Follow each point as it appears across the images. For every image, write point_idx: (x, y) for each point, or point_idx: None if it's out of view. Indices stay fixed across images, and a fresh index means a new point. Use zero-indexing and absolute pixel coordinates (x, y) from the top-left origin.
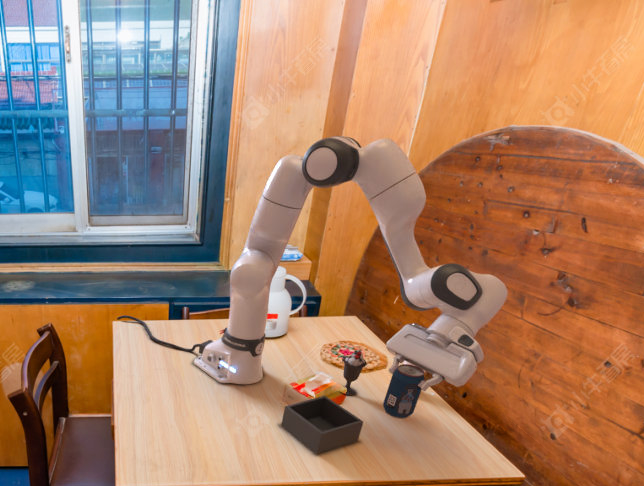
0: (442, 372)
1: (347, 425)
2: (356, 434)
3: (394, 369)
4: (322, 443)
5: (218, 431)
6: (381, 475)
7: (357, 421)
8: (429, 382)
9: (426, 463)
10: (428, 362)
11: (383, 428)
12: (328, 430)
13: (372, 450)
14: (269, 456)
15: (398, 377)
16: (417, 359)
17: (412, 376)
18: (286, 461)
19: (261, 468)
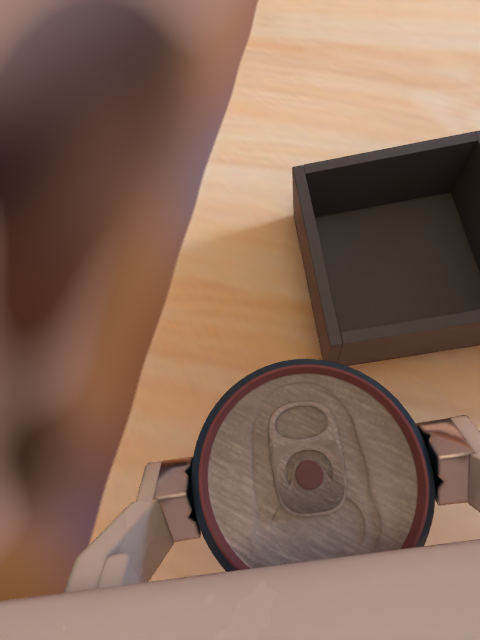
0: (25, 610)
1: (319, 271)
2: (323, 343)
3: (433, 434)
4: (295, 203)
5: (450, 29)
6: (160, 332)
7: (335, 323)
8: (125, 509)
9: None
10: (222, 617)
11: None
12: (306, 195)
13: None
14: (316, 104)
15: (296, 361)
16: (354, 572)
17: (221, 413)
18: (286, 133)
19: (277, 74)
